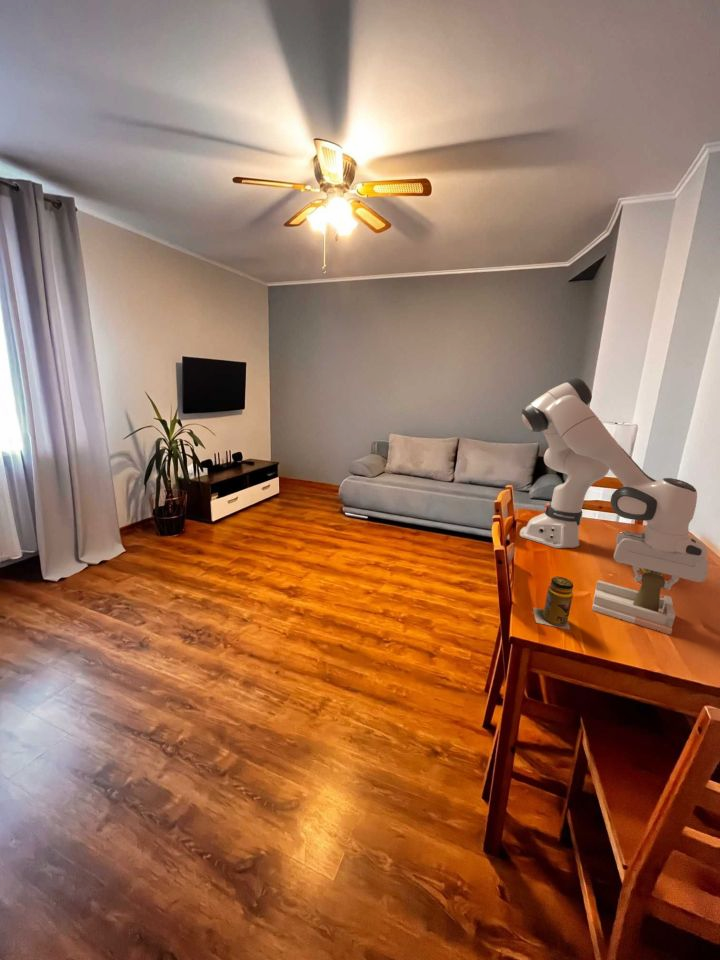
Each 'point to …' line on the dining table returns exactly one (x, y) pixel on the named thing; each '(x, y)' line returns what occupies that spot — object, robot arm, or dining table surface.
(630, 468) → the robot arm
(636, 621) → the white tray
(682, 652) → the dining table surface
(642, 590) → the cork
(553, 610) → the condiment
